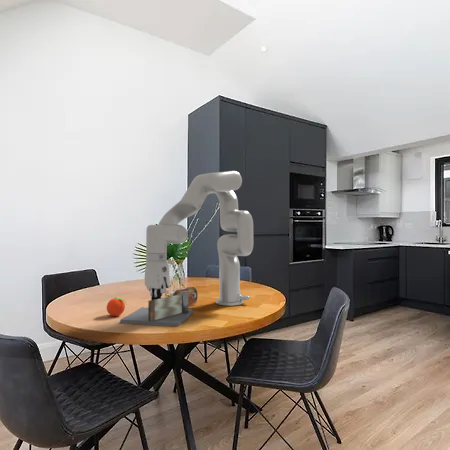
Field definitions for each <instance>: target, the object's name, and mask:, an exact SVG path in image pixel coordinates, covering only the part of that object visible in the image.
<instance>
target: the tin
mask: <svg viewBox="0 0 450 450" xmlns="http://www.w3.org/2000/svg"><path fill="white" fill-rule="evenodd" d="M181 291H188V308H190V307H193V306H195V305H196V303H197V301H198V290H197V288H196V287H194V286H187V287H183V288H179V289H176V290H174V292H173V294H172V296H175V295H179V294H180V295H181Z"/></svg>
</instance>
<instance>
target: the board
mask: <svg viewBox="0 0 450 450" xmlns="http://www.w3.org/2000/svg"><path fill="white" fill-rule="evenodd" d="M193 311H194V310H193V309H188V313H186V314H183V313H179V314H176V315H172V316H168V317H165V318H161V319H157V320H154V321H148V307H144V306H143V307H142V306H141V307H140V308H138V309H136V310H135V311H133V312H132V313H129V314H128V315H126V316H124V317H122V318H120V320H119V324H133V325H150V326H165V327H166V326H167V327H169V326H170V327H179V326H180V325H182V324H183V323H184V321H186V320H187V319H188V318H189V317H190V316H191V315H192V314H193Z"/></svg>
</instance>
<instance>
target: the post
mask: <svg viewBox="0 0 450 450" xmlns="http://www.w3.org/2000/svg"><path fill="white" fill-rule="evenodd" d="M181 295H182V313H183V314H186V313H188V310H189V307H188V291H181Z"/></svg>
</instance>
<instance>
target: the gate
mask: <svg viewBox="0 0 450 450" xmlns="http://www.w3.org/2000/svg"><path fill="white" fill-rule="evenodd" d="M147 305H148V307H147V308H148V321H154V320H157V319H161V318H165V317H168V316H172V315H176V314H179V313H182V295H180V294H179V295H175V296H173V295H171V296H166V297H161V298H160V299H156V300H151V299H150V300H148V304H147Z"/></svg>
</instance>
